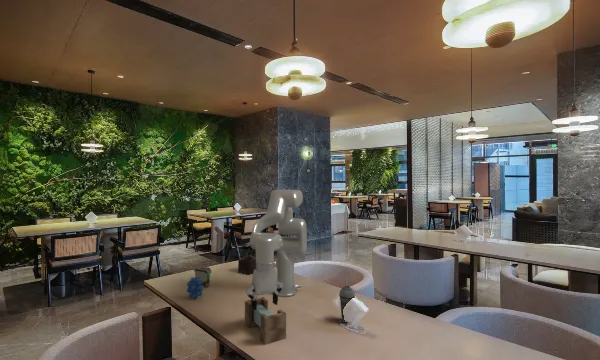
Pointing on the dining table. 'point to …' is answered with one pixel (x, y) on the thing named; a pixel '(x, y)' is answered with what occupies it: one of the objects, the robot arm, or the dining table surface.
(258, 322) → the rail
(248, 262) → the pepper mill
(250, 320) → the notched wooden uprights
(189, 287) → the grapes
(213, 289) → the dining table surface
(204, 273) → the food container
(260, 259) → the robot arm
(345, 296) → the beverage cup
